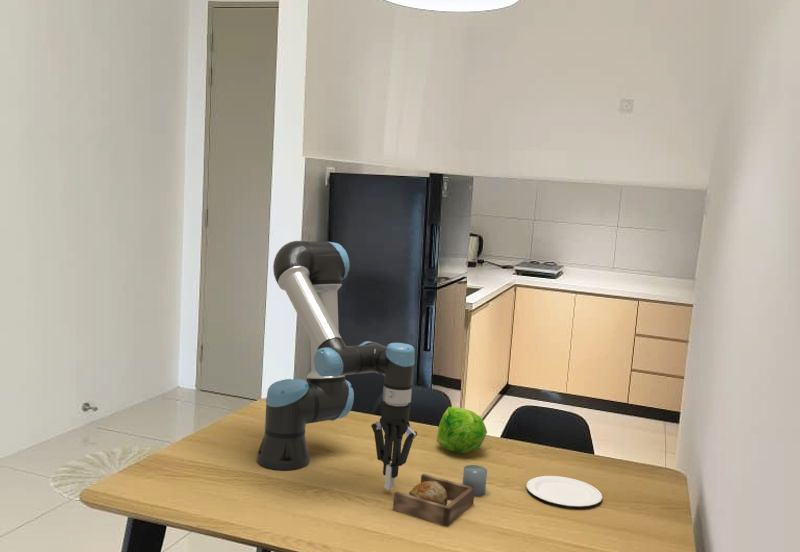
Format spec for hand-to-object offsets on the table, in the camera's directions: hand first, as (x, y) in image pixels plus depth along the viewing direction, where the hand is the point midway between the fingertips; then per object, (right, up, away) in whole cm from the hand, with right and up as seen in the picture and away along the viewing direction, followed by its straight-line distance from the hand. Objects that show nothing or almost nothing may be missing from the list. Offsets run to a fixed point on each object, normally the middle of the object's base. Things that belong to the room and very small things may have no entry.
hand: (389, 487), depth 192 cm
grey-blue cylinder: (+23, -3, +5) cm, 24 cm away
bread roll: (+10, -3, -5) cm, 12 cm away
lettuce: (+22, 0, +39) cm, 45 cm away
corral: (+11, -3, -6) cm, 13 cm away
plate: (+49, -5, +9) cm, 50 cm away
